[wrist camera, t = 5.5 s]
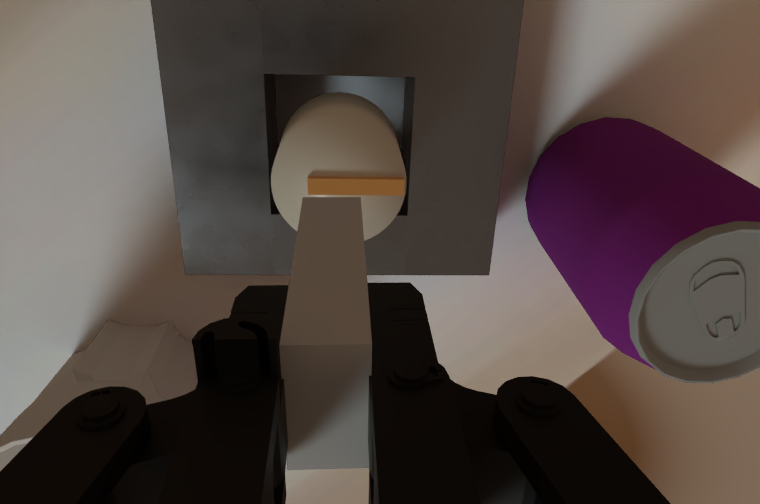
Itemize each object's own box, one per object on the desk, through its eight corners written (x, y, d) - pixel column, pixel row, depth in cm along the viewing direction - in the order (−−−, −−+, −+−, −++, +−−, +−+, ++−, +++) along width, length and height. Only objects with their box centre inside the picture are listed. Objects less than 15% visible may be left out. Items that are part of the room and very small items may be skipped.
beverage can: (681, 220, 32) (849, 355, 22) (543, 273, 33) (638, 427, 23) (652, 86, 29) (833, 166, 18) (500, 149, 30) (588, 260, 19)
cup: (161, 468, 38) (106, 625, 29) (21, 377, 34) (-91, 524, 26) (272, 378, 35) (248, 522, 27) (132, 269, 32) (51, 393, 23)
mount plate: (203, 237, 31) (185, 274, 28) (142, -328, 21) (102, -384, 18) (472, 238, 32) (488, 275, 28) (532, -304, 22) (568, -352, 19)
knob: (283, 204, 26) (273, 248, 22) (278, 90, 24) (266, 118, 20) (395, 205, 26) (403, 248, 23) (400, 93, 24) (410, 120, 20)
